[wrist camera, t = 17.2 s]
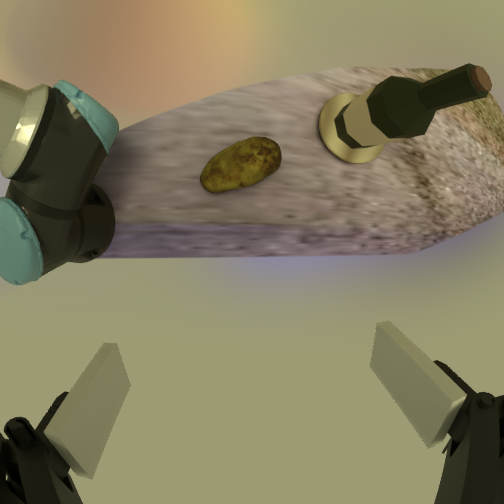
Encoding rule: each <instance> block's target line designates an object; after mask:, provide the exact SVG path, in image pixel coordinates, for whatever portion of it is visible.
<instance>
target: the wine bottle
mask: <svg viewBox="0 0 504 504" xmlns="http://www.w3.org/2000/svg"><path fill="white" fill-rule="evenodd" d="M491 87H492V84H491V80H490V77H489V75H488V74H487V72H486V71H485V70H484V68H482V67H480V66H475V65H472V64H466V65H464V66H461V67H459V68H456V69H454V70H451V71H449V72H447V73H444V74H442V75H440V76H437V77H435V78H433V79H431V80H428V81H426V82H424V83H422V82H419V81H417V80H414V79H411V78H405V77H397V76H390V77H389V78H387V79H385V80H384V81H382V82H381V83H379V84H378V85H376V86H374V87H373V88H371V89H370V90H368V91H367V92H365V93H364V94H362V95H360V96H359V97H357V98H356V99H354V100H353V101H351V102H350V103H348V104H347V105H345V106H344V107H343V108H342V109H341V111H340V112H339V113H338V115H337V116H336V118H335V119H334V122H335V127H336V131H337V136H338V138H339V139H340V140H342V141H343V142H344V143H345V144H346V145H348V146H349V147H350V148H351V149H358V148H369V147H373V146H377V145H381V144H385V143H389V142H393V141H397V140H402V139H406V138H410V137H415V136H420V135H424V134H425V133H426V131H427V129H428V127H429V125H430V123H431V121H432V119H433V117H434V115H435V112H436V110H440V109H443V108H447V107H450V106H454V105H457V104H461V103H465V102H469V101H473V100H477V99H481V98H485V97H487V94H488V92H489V91H491Z"/></svg>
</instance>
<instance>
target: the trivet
mask: <svg viewBox="0 0 504 504" xmlns="http://www.w3.org/2000/svg"><path fill="white" fill-rule="evenodd" d="M359 96H360V95H357V94H352V93H344V94H340V95H337V96H335V97H333V98H332V99H330V100H329V101H328V102H327V103H326V104H325V105H324V107H323V108H322V110H321V113H320V117H319V130H320V134H321V139H322V141H323V142H324V143H325V145H326V146H327V148H328V149H329V150H330V151H331V152H332V153H333V154H334V155H335V156H337V157H338V158H340V159H342V160H344V161H346V162H350V163H364V162H368V161H371V160H373V159H375V158H376V157H377V156H378V155H379V154H380V153H381V152H382V150H383V148H384V146H385V144H381V145H377V146H373V147H369V148H358V149H351V148H350V147H349V146H348V145H346V144H345V143H344V142H343V141H342V140H340V139H339V138H338V136H337V131H336V127H335V122H334V119H335V118H336V116H337V115H338V113H339V112H340V111H341V109H342V108H343V107H344V106H345V105H347V104H348V103H350V102H351V101H353V100H354V99H356V98H357V97H359Z"/></svg>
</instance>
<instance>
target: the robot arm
mask: <svg viewBox="0 0 504 504" xmlns="http://www.w3.org/2000/svg"><path fill="white" fill-rule="evenodd" d="M118 131H119V124H118V121H117V119H116V118H115V117H114V116H113V114H111V113H110V112H109V111H108V110H107V109H106V108H105V107H103V106H102V105H101V104H100V103H98V102H97V101H96V100H94V99H93V98H92V97H90V96H89V95H88V94H85V93H83V91H81V90H80V89H78V88H77V87H76V86H74V85H73V84H71V83H69V82H67V81H64V80H60V81H59V82H58V83H57V84H55V85H54V87H53V88H51V87H49V86H47V85H45V84H40V85H38V86H36V87H34V88H32V89H30V90H24V89H22V88H19V87H17V86H15V85H12V84H10V83H8V82H5V81H3V80H0V170H1V173H2V175H3V177H5V178H7V179H11V181H10V184H9V186H8V189H7V193H6V196H5V197H0V276H1V277H2V278H3V279H4V280H6V281H7V282H9V283H11V284H14V285H23V284H26V283H28V282H31V281H36V280H38V279H39V278H40V277H41V276H43V275H45V274H46V273H48V272H50V271H51V270H53V269H55V268H57V267H59V266H61V265H63V264H65V263H66V262H75V263H84V262H88V261H91V260H93V259H95V258H97V257H98V256H100V255H101V254H102V253H103V252H104V251H105V250H106V249H107V248H108V246H109V244H110V242H111V240H112V237H113V234H114V228H115V217H114V211H113V208H112V205H111V202H110V200H109V198H108V197H107V195H106V194H105V193H104V192H103V191H102V190H101V189H100V188H99V187H97V186H96V185H94V184H91V183H92V181H93V179H94V177H95V175H96V173H97V171H98V169H99V167H100V165H101V163H102V162H103V160H104V158H105V156H107V155H108V154H109V149H110V147H111V145H112V143H113V142H114V140H115V138H116V136H117V134H118ZM370 367H371V368H372V370H373V371H374V372H375V374H376V375H377V377H378V378H379V379H380V381H381V382H382V384H383V385H384V386H385V388H386V389H387V390H388V392H389V393H390V395H391V396H392V397H393V399H394V400H395V402H396V403H397V404H398V406H399V407H400V408H401V410H402V411H403V413H404V414H405V416H406V417H407V418H408V420H409V421H410V423H411V424H412V425H413V427H414V429H415V430H416V431H417V433H418V434H419V436H420V437H421V439H422V440H423V441H424V443H425V444H426V446H427V447H428V449H429V448H431V447H433V446H435V445H437V444H439V443H441V442H442V441H443V439H444V438H445V436H446V434H447V433H449V435H450V436H451V438H450V440H449V441H448V443H447V445H446V446H445V448H444V449H443V452H442V453H445V451H446V449H447V454H446V459H445V464H444V469H443V473H442V477H441V481H440V485H439V489H438V493H437V496H436V499H435V503H434V504H504V395H502V396H498V397H494V396H493V395H492V394H490V393H486V392H479V393H476V392H475V391H474V390H472V388H471V387H469V386H468V385H467V384H466V383H465V382H464V381H463V380H462V379H461V378H460V377H458V375H457V374H456V373H455V372H453V371H452V370H451V369H450V368H449V367H448V366H447V365H446V364H444V363H442V362H440V361H438V360H436V361H432V360H431V359H430V358H429V357H428V356H427V355H426V354H425V353H423V352H422V351H421V350H420V349H419V348H418V347H417V346H416V345H415V344H414V343H413V342H412V341H411V340H410V339H408V338H407V337H406V336H405V335H404V334H403V333H402V332H401V331H400V330H399V329H397V327H395V326H394V325H393V324H392V323H391V322H390V321H386V322H381V323H377V326H376V333H375V339H374V345H373V351H372V357H371V363H370ZM130 386H131V385H130V382H129V379H128V376H127V373H126V370H125V368H124V364H123V361H122V358H121V355H120V352H119V349H118V345H117V344H116V343H104V344H103V345H102V347H101V348H100V349H99V351H98V352H97V353H96V355H95V356H94V358H93V359H92V360H91V362H90V363H89V365H88V366H87V367H86V369H85V371H84V372H83V373H82V374H81V376H80V377H79V379H78V380H77V382H76V383H75V384H74V386H73V387H72V389H71V390H70V392H64V393H62V394H61V395H60V396H58V397H57V398H56V400H55V401H54V402H53V404H52V406H51V407H50V408H49V410H48V412H47V413H46V414H45V416H44V417H43V419H42V420H41V422H40V423H39V425H38V426H37V428H36V429H35V430H34V428H33V427H32V425H31V424H30V422H29V421H28V420H27V419H26V418H23V417H15V418H13V419H10V420H9V421H8V422H7V423H6V425H5V427H4V432H5V434H6V435H7V436H8V438H9V439H5V438H4V437H3V436H2V434H1V433H0V504H83V503H82V501H81V498H80V496H79V494H78V492H77V490H76V488H75V485H74V483H73V481H72V479H71V477H70V475H69V474H68V471H69V469H70V468H71V469H72V470H73V471H74V472H75V473H76V475H78V476H81V477H85V478H88V479H93V476H94V473H95V471H96V468H97V465H98V463H99V460H100V457H101V455H102V452H103V450H104V447H105V445H106V442H107V440H108V437H109V435H110V433H111V430H112V427H113V425H114V423H115V421H116V418H117V416H118V414H119V411H120V409H121V407H122V404H123V402H124V400H125V397H126V395H127V393H128V391H129V388H130ZM6 475H7V476H8V479H7V480H6Z"/></svg>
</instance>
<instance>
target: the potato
mask: <svg viewBox="0 0 504 504" xmlns="http://www.w3.org/2000/svg"><path fill="white" fill-rule="evenodd" d="M281 159H282V156H281V150H280V147H279V145H278V144H277V143H276V142H275V141H273V140H271V139H269V138H266V137H251V138H248V139H245V140H243V141H240V142H237V143H235V144H234V145H232V146H230V147H228V148H226V149H224V150H223V151H221V152H220V153H218V154H217V155H215V156H214V157H213V158H212V159H211V160H210V161H209V162H208V163H207V165H206V166H205V168H204V170H203V171H202V173H201V176H200V182H201V184H202V186H203V188H204V189H206V190H207V191H209V192H211V193H216V192H225V191H228V190H234V189H239V188H243V187H247V186H250V185H253V184H256V183H258V182H260V181H261V180H263V179H264V178H265V177H267V176H269V175H271V174H273V173H274V172H275V171H277V169H278V168H279V167H280V164H281Z"/></svg>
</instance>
